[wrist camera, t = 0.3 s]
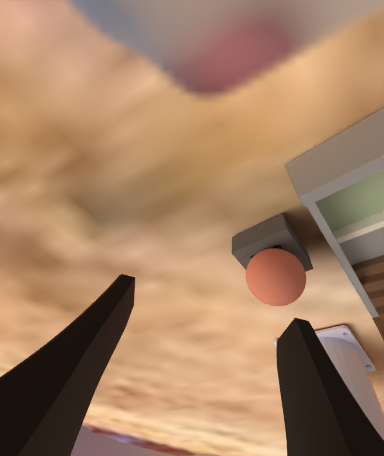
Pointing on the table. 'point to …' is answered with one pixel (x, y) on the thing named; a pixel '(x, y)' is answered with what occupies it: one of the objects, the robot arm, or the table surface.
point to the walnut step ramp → (373, 285)
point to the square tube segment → (269, 241)
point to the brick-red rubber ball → (275, 277)
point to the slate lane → (347, 193)
